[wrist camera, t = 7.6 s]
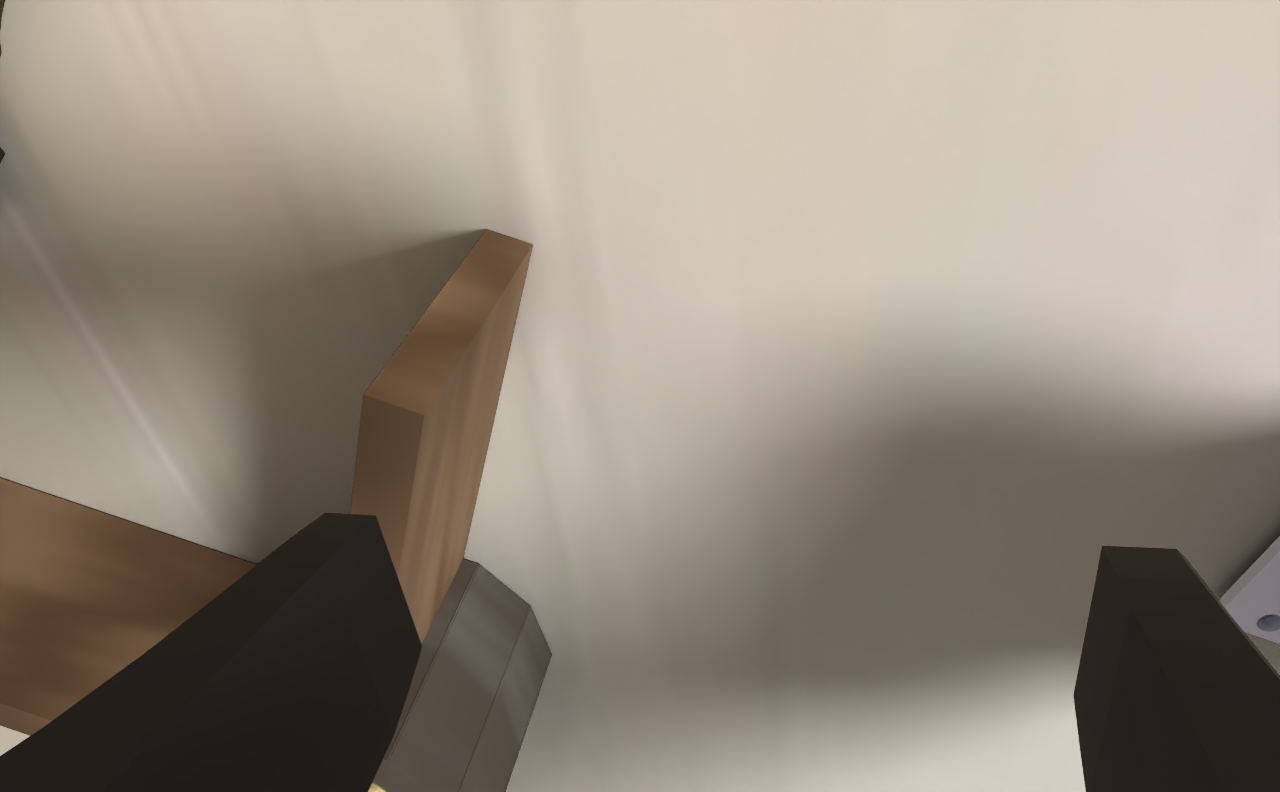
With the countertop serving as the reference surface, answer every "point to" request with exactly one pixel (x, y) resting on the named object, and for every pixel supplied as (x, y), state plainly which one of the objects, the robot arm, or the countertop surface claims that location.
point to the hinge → (383, 486)
